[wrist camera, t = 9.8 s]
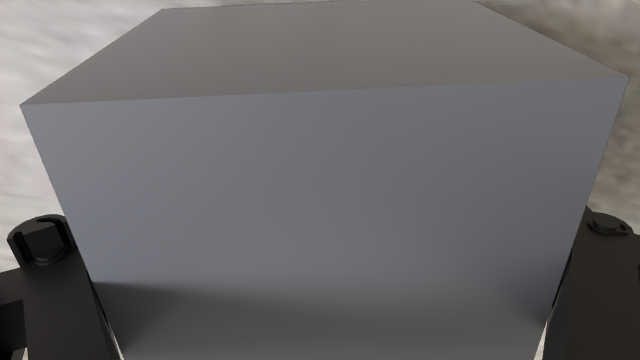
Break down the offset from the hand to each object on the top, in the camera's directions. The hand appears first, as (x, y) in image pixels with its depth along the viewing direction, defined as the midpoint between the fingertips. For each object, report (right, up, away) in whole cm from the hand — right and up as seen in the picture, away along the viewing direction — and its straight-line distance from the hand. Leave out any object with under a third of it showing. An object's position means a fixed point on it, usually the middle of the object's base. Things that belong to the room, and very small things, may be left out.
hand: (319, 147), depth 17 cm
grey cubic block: (0, 0, +1) cm, 1 cm away
